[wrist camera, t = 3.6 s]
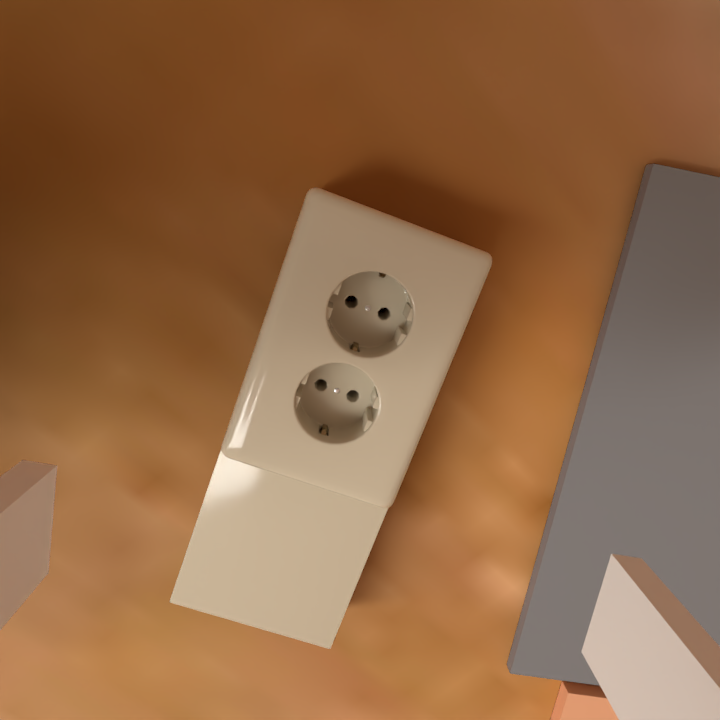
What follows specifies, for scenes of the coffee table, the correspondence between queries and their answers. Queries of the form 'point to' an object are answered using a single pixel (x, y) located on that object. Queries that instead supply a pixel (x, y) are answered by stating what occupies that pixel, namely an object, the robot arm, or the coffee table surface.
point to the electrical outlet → (328, 416)
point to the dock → (638, 442)
